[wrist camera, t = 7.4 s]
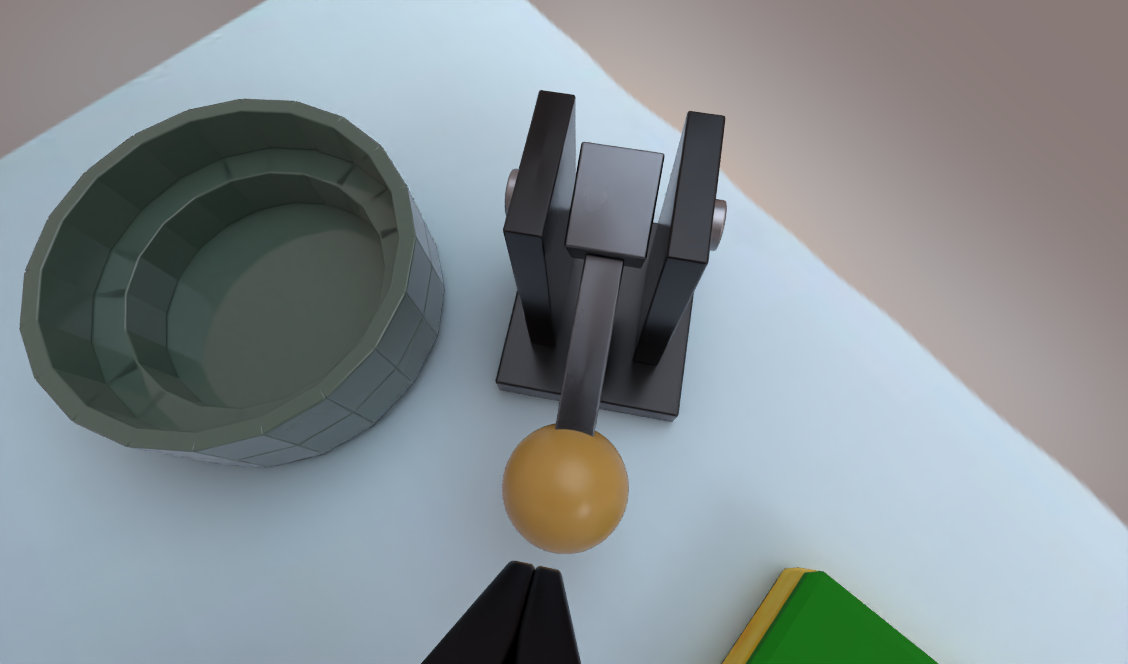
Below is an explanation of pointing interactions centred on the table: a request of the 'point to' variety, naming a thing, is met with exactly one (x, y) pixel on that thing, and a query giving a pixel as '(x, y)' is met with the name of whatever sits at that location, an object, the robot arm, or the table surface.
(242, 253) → the basin
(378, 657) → the table surface
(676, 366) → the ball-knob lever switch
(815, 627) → the dish sponge
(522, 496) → the tap lever
